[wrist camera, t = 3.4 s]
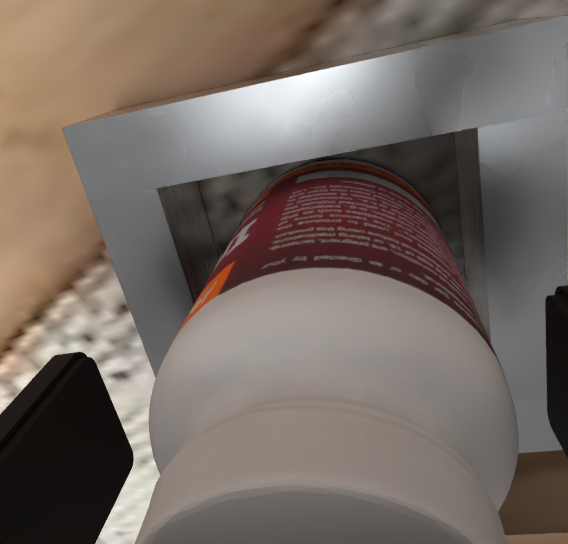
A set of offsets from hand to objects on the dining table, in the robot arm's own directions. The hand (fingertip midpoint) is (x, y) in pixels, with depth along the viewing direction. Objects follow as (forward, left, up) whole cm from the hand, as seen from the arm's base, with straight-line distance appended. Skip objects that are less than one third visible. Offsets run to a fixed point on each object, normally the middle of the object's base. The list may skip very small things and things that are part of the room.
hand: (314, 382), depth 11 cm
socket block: (0, 0, -6) cm, 6 cm away
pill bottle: (0, 0, -6) cm, 6 cm away
